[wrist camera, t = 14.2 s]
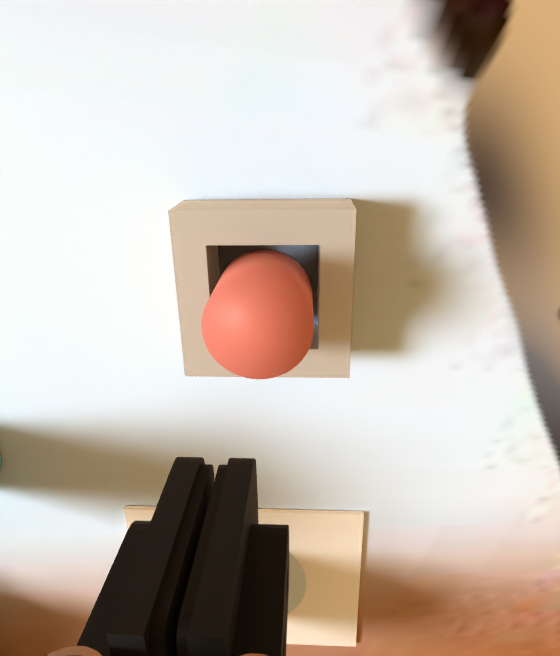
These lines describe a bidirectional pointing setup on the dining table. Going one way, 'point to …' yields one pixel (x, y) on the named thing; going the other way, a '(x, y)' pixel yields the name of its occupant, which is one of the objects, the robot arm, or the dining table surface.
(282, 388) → the dining table surface
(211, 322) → the button
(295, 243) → the button base
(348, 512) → the cream rectangular board
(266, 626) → the robot arm
